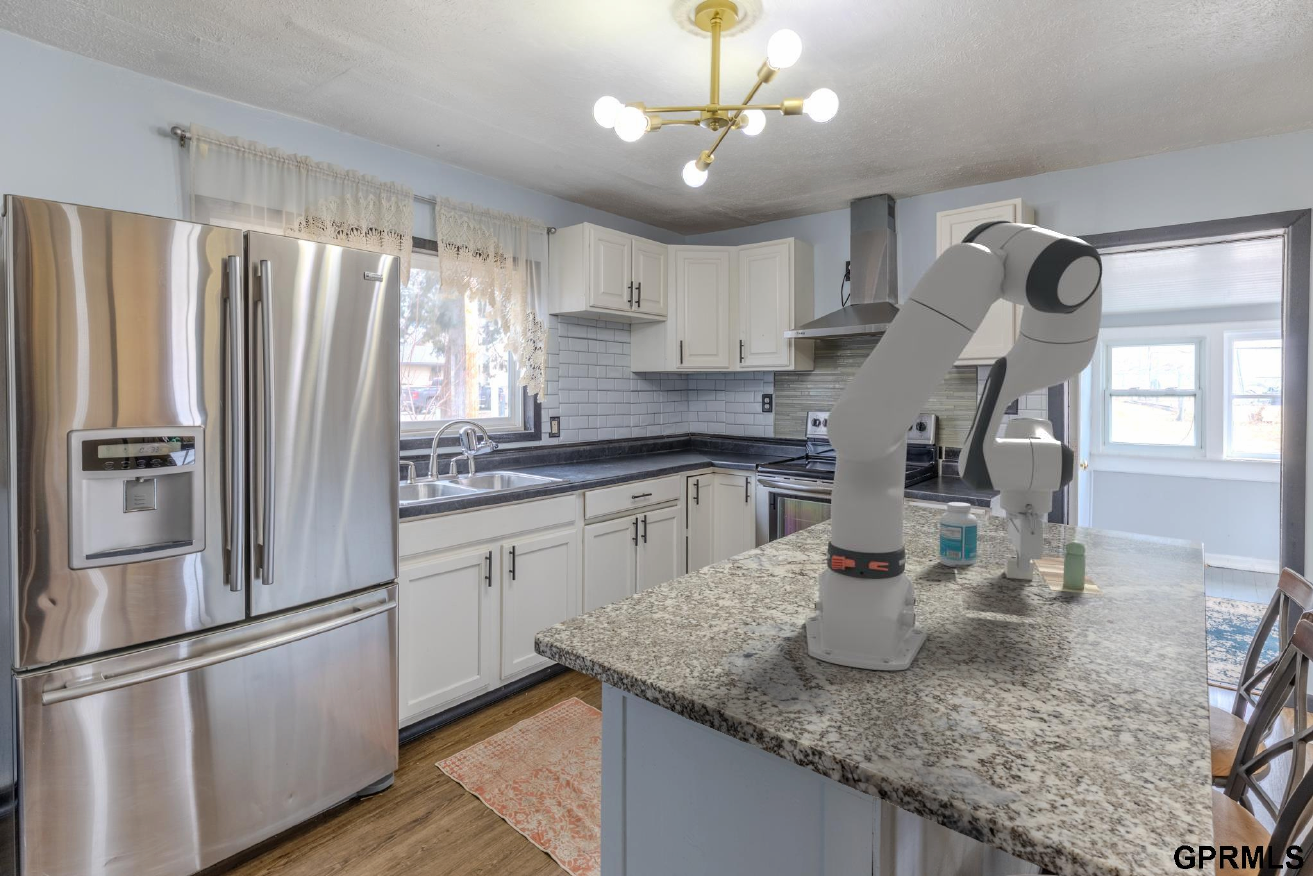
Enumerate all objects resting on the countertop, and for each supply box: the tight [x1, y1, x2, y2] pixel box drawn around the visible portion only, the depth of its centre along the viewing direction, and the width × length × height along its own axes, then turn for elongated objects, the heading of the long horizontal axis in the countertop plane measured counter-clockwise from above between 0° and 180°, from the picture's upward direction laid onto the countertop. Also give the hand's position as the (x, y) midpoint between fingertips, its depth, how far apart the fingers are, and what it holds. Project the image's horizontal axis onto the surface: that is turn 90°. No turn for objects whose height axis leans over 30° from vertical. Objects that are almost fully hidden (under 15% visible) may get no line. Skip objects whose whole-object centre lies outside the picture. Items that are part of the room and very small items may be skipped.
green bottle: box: [1063, 540, 1087, 590], centre depth 125 cm, size 3×3×9 cm
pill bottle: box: [939, 501, 978, 568], centre depth 144 cm, size 8×7×14 cm
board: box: [1032, 556, 1104, 596], centre depth 134 cm, size 26×9×1 cm, turn 158°
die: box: [1003, 554, 1034, 581], centre depth 133 cm, size 4×4×5 cm
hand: (1022, 570), depth 129 cm, fingers closed
